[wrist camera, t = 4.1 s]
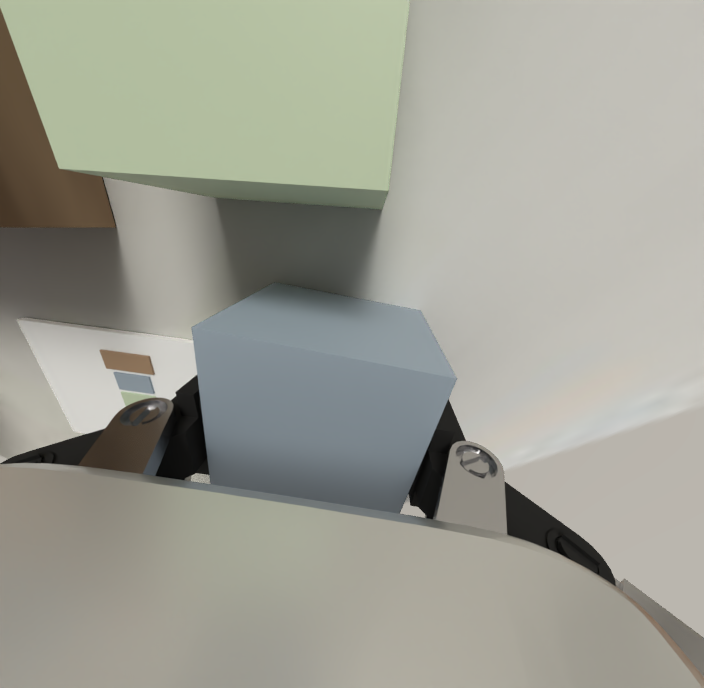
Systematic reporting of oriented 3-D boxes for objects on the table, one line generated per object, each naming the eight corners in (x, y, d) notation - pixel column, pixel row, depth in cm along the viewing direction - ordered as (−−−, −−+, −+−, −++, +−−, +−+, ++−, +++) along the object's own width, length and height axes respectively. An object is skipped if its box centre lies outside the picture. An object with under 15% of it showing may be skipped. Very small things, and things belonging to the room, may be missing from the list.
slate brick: (420, 310, 10) (456, 378, 5) (382, 436, 13) (384, 547, 9) (274, 282, 10) (191, 327, 6) (270, 414, 13) (214, 512, 9)
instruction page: (229, 344, 11) (224, 348, 11) (242, 452, 14) (239, 458, 14) (24, 317, 12) (13, 320, 11) (79, 428, 15) (71, 433, 14)
